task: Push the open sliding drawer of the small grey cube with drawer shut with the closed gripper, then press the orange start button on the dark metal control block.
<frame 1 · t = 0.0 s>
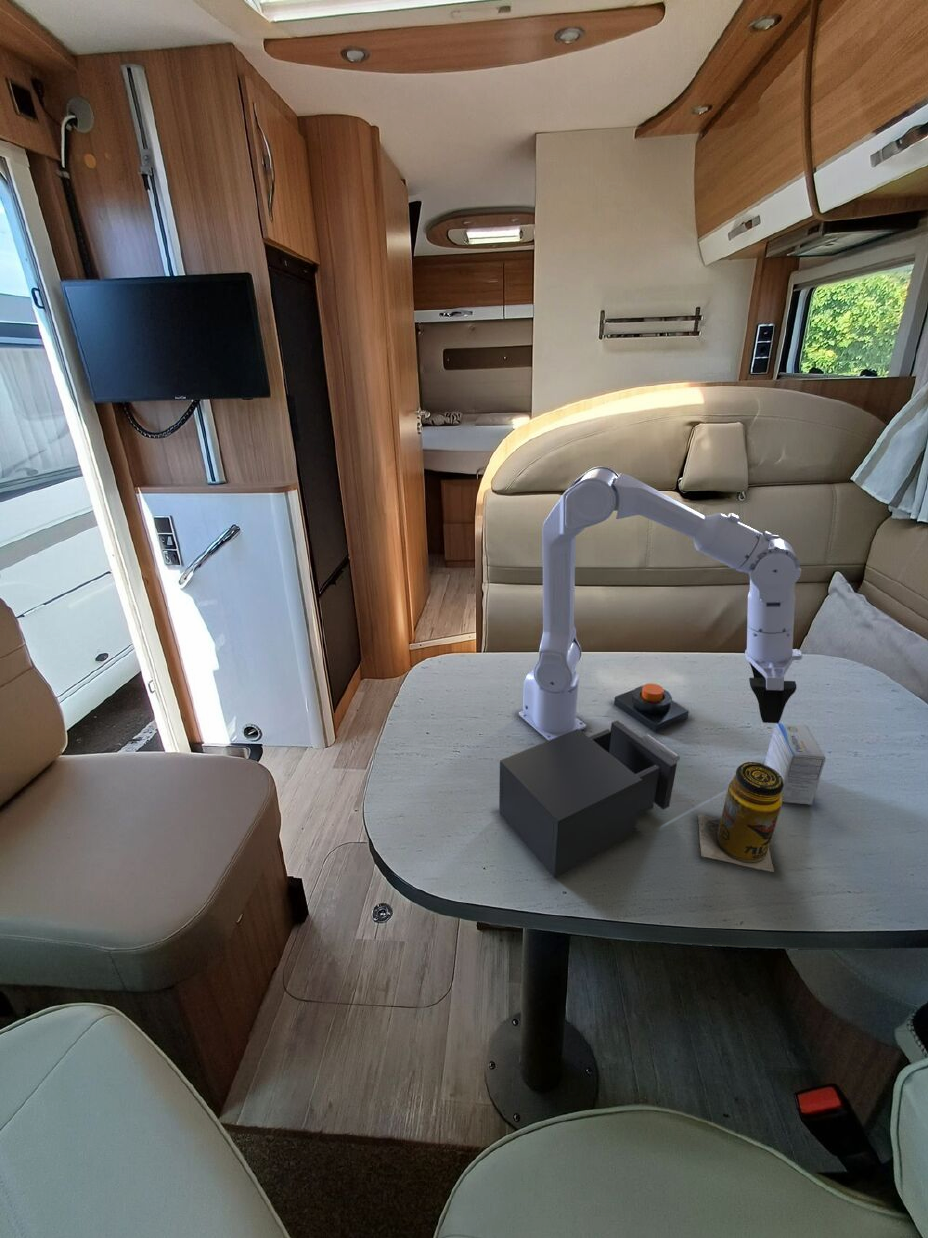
hand: (767, 707, 83), 11 cm above the table, tool pointing down, fingers open, 7 cm apart
start button: (652, 692, 99), point 4 cm above the table, slide at 0.1 cm
grey cube with drawer: (564, 823, 77), on the table
open sliding drawer: (621, 771, 79), point 5 cm above the table, slide at 6.0 cm
condiment: (733, 844, 74), on the table
control block: (649, 711, 100), on the table
medicine box: (785, 786, 83), on the table
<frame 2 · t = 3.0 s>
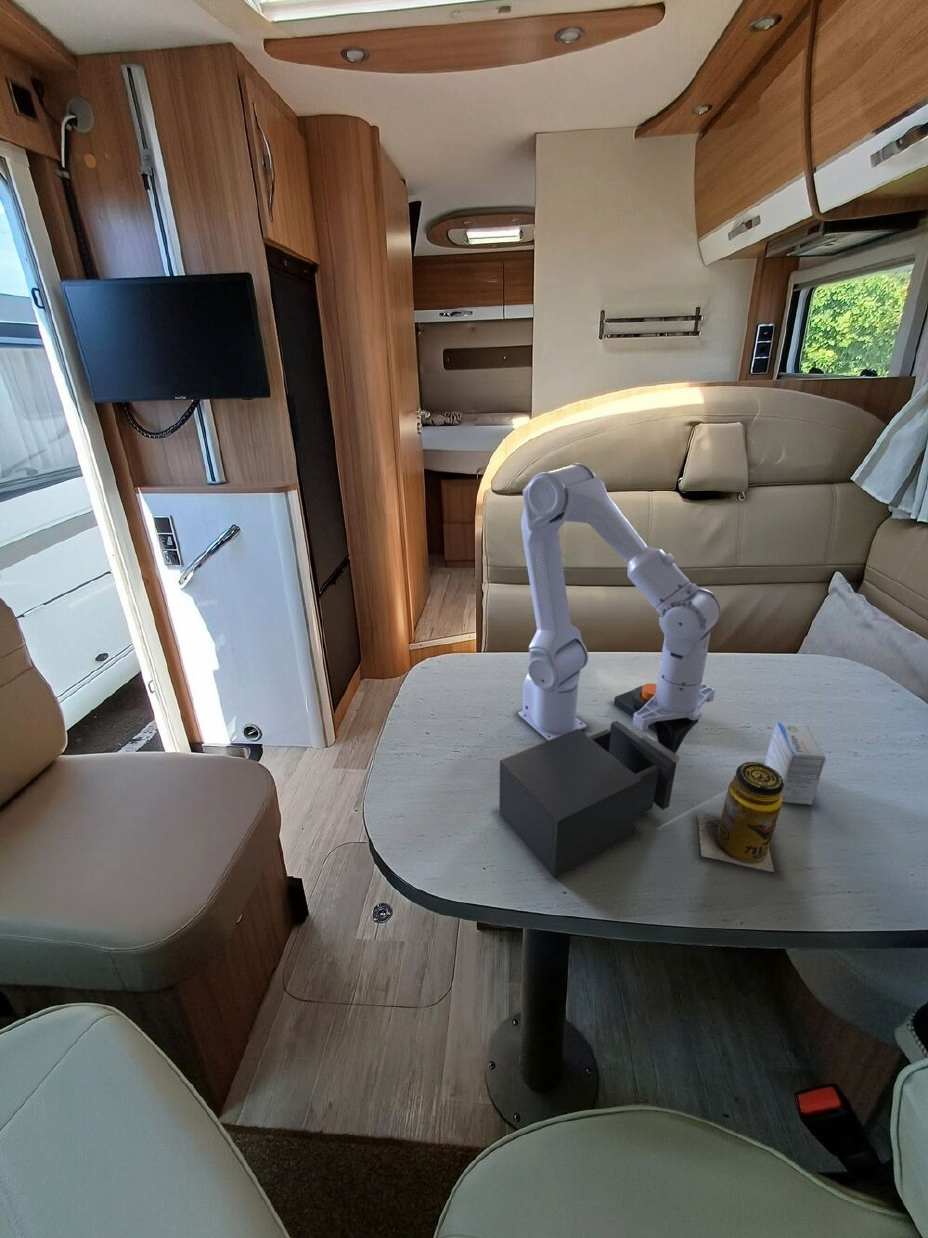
hand: (666, 752, 84), 4 cm above the table, tool pointing down, fingers closed
open sliding drawer: (620, 772, 79), point 5 cm above the table, slide at 5.9 cm, touching gripper
everything else where it was.
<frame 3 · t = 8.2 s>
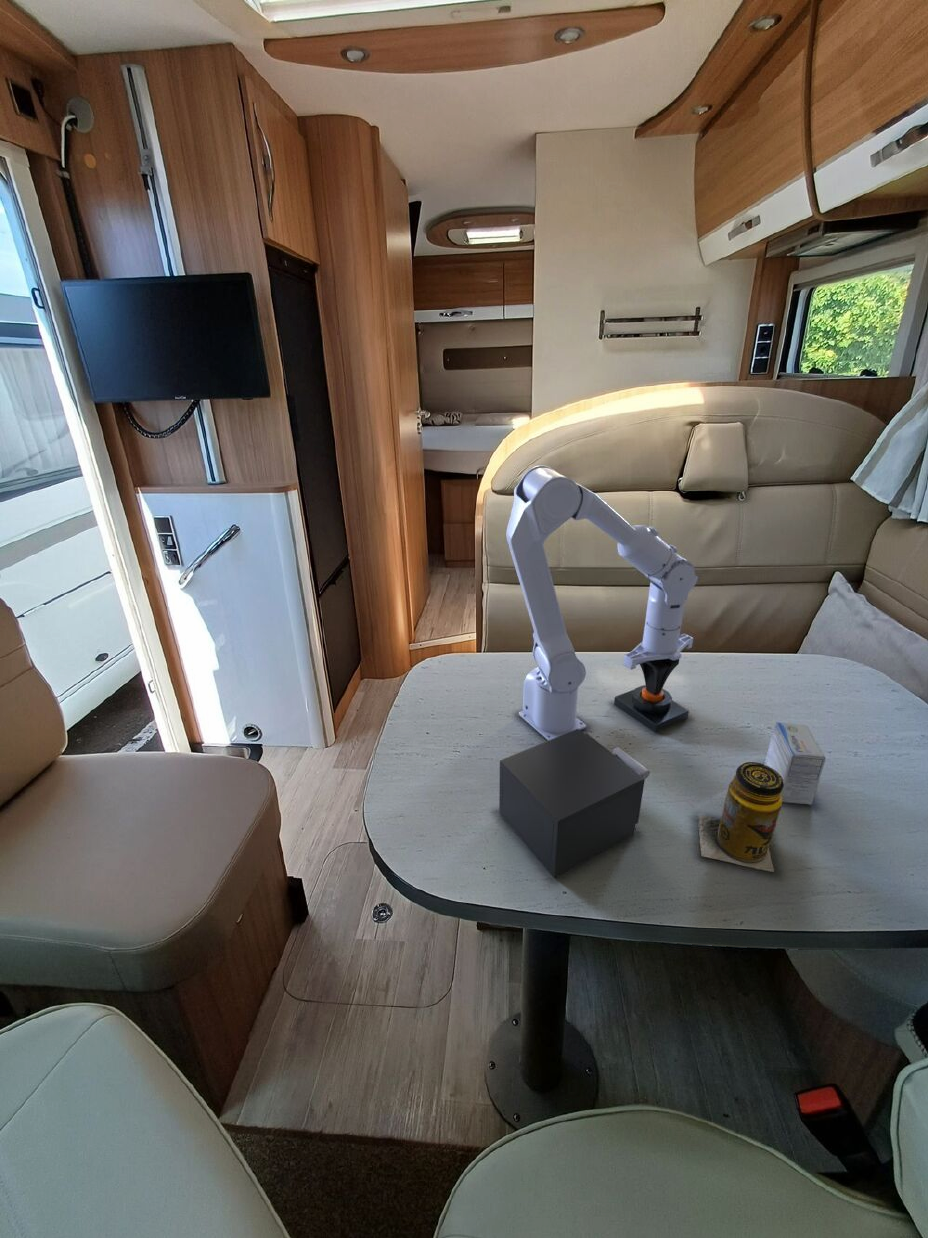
hand: (653, 691, 99), 4 cm above the table, tool pointing down, fingers closed, pressing on start button
start button: (652, 695, 99), point 3 cm above the table, slide at -0.5 cm, touching gripper
open sliding drawer: (588, 787, 77), point 5 cm above the table, slide at 0.0 cm, touching grey cube with drawer
everything else where it was.
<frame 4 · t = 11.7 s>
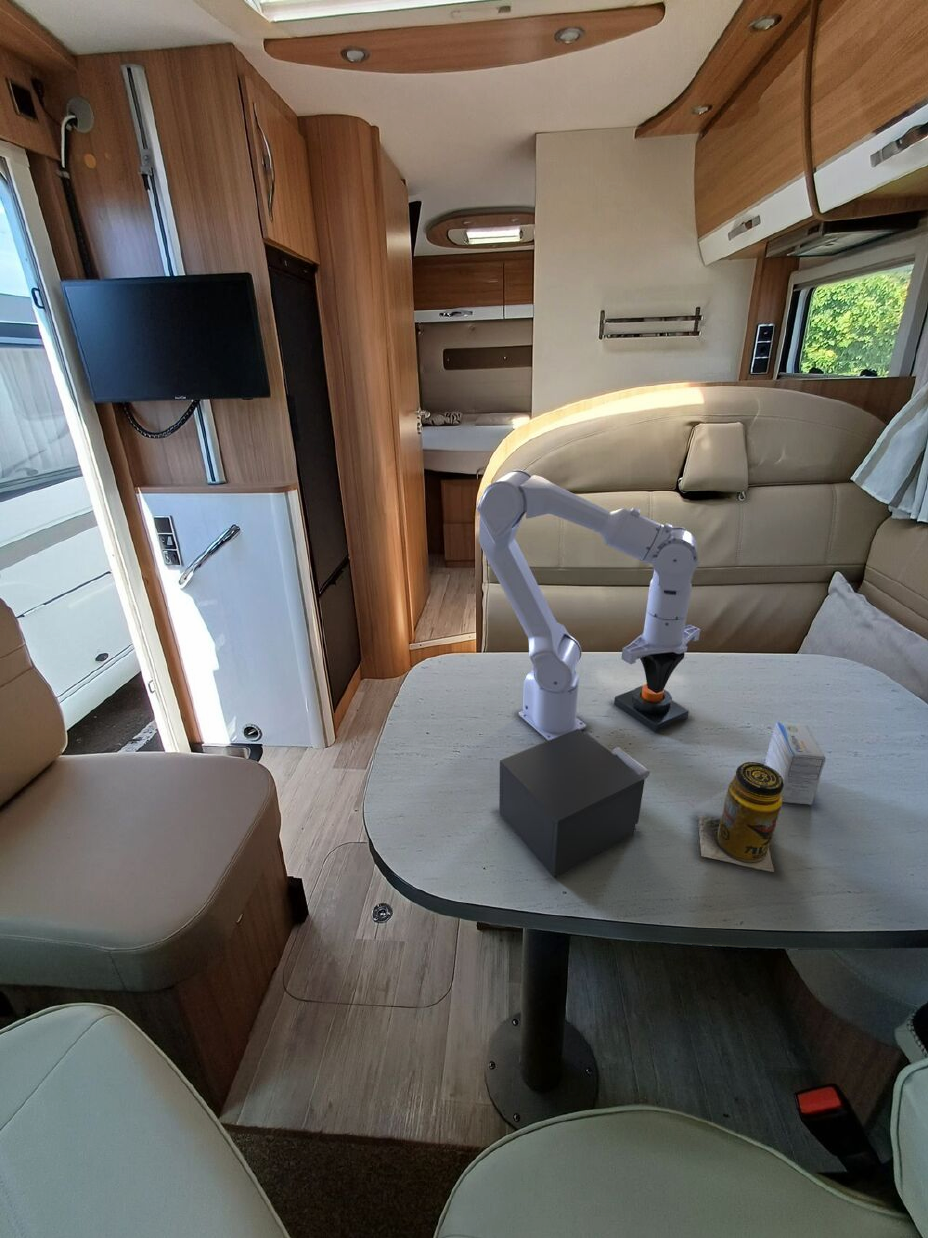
hand: (654, 689, 88), 10 cm above the table, tool pointing down, fingers closed
start button: (652, 692, 99), point 4 cm above the table, slide at 0.1 cm
everything else where it was.
at the end: open sliding drawer slide at 0.0 cm; start button pushed in 1.2 cm at the most during the clip, back to where it started at the end; start button slide at 0.1 cm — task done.
